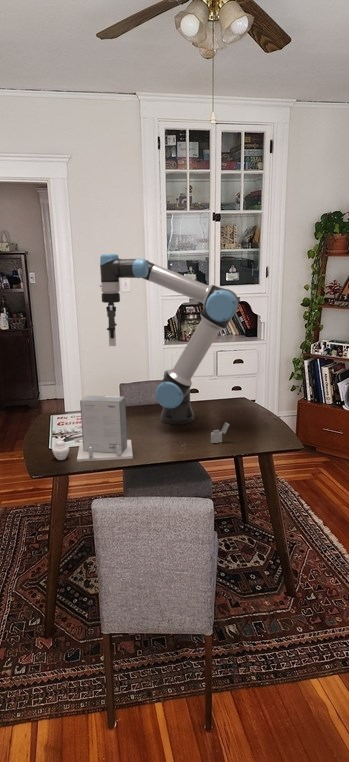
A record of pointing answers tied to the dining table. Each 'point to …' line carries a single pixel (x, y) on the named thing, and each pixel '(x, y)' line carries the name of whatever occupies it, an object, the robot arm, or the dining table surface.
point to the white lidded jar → (60, 450)
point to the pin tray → (104, 453)
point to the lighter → (218, 434)
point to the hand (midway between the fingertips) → (112, 343)
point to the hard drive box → (103, 423)
